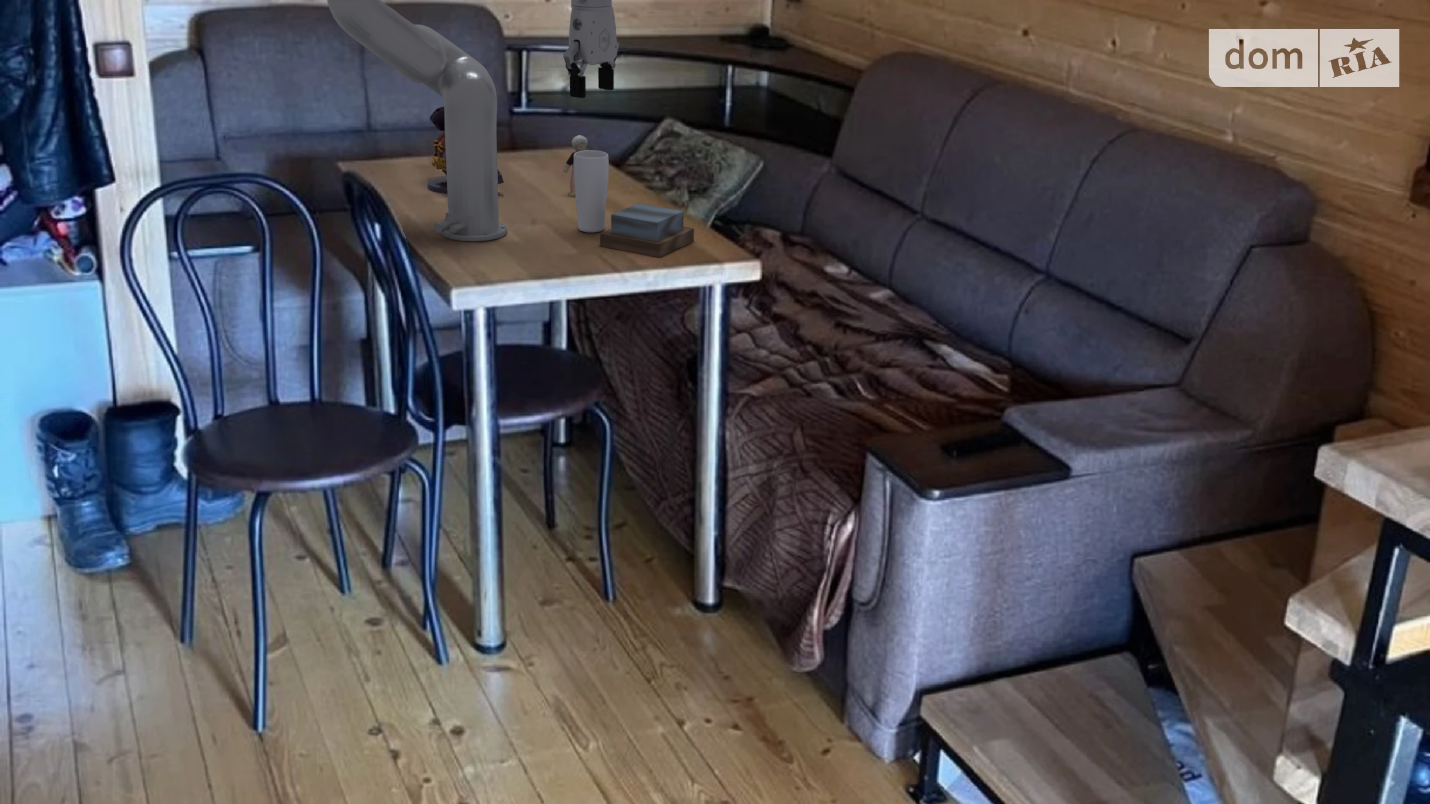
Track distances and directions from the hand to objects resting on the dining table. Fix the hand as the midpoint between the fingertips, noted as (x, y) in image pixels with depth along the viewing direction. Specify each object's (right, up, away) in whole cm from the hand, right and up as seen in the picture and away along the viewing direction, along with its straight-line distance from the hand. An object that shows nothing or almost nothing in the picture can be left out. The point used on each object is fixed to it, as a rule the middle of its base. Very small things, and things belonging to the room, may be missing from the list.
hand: (592, 93), depth 271 cm
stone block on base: (+10, -28, +2) cm, 30 cm away
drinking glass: (-1, -25, +10) cm, 27 cm away
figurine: (-31, -12, +38) cm, 51 cm away
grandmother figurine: (-6, -14, +35) cm, 39 cm away
